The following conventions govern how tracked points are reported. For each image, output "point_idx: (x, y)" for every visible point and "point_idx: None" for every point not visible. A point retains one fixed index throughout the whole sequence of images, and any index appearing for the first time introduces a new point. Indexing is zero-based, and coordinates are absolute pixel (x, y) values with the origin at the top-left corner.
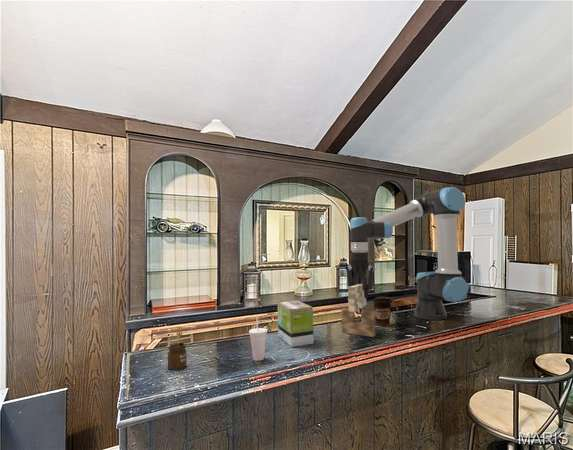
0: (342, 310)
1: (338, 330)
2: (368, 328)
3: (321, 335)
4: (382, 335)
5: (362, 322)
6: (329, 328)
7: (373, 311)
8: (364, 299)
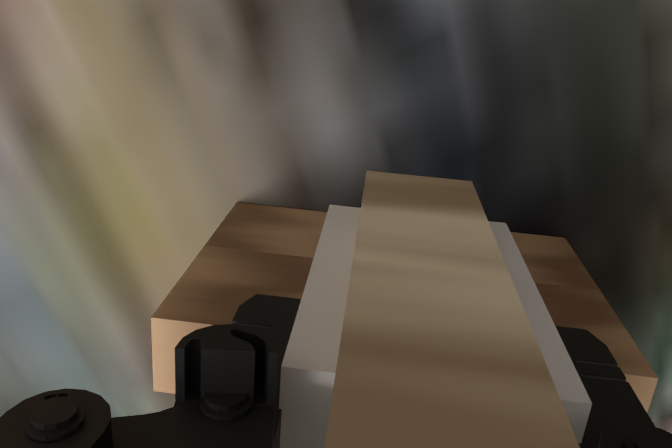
0: (173, 383)
1: (176, 206)
2: None
3: (119, 396)
4: (635, 211)
5: None
6: (64, 171)
7: (642, 388)
8: None
